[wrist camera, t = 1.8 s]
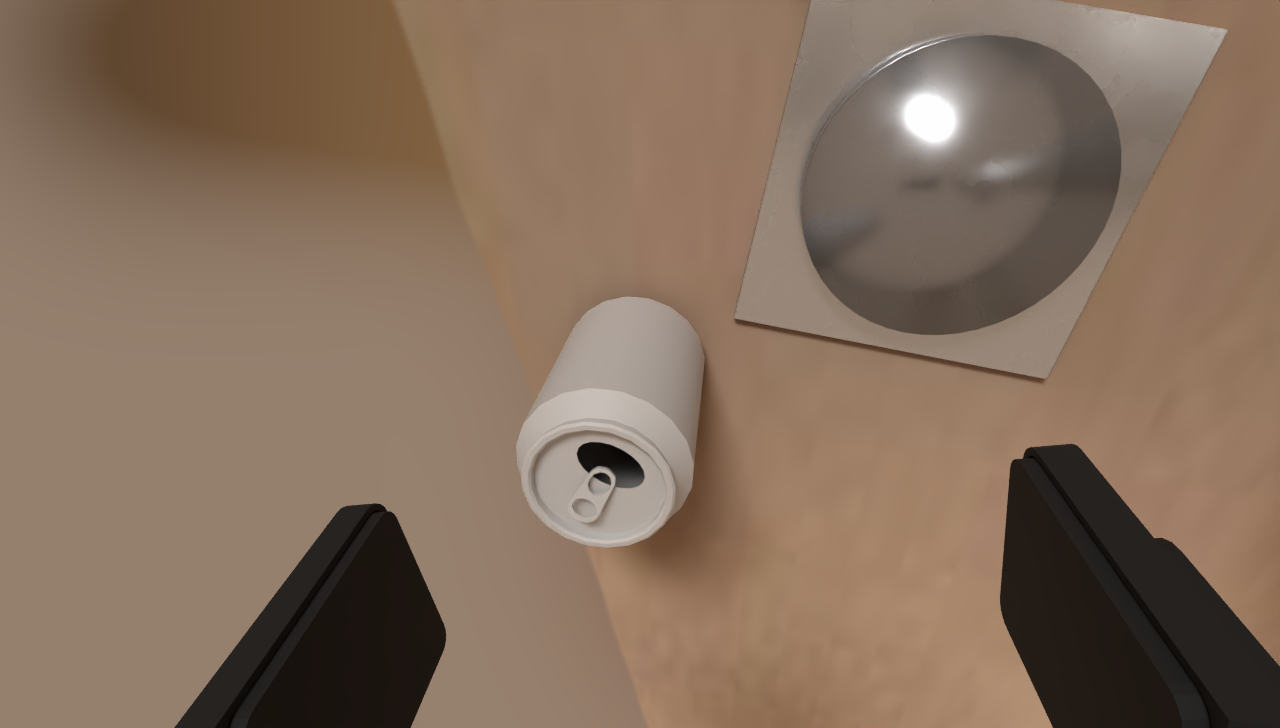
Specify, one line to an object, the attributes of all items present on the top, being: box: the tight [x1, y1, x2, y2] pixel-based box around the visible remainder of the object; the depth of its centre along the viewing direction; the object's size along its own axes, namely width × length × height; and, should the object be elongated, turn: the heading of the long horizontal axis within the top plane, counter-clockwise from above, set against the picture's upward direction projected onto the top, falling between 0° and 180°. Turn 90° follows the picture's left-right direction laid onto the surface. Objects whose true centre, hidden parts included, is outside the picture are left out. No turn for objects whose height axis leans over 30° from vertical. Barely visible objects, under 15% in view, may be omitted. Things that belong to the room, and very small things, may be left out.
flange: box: [734, 0, 1228, 379], centre depth 30 cm, size 16×16×2 cm
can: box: [516, 296, 705, 548], centre depth 32 cm, size 8×8×12 cm
